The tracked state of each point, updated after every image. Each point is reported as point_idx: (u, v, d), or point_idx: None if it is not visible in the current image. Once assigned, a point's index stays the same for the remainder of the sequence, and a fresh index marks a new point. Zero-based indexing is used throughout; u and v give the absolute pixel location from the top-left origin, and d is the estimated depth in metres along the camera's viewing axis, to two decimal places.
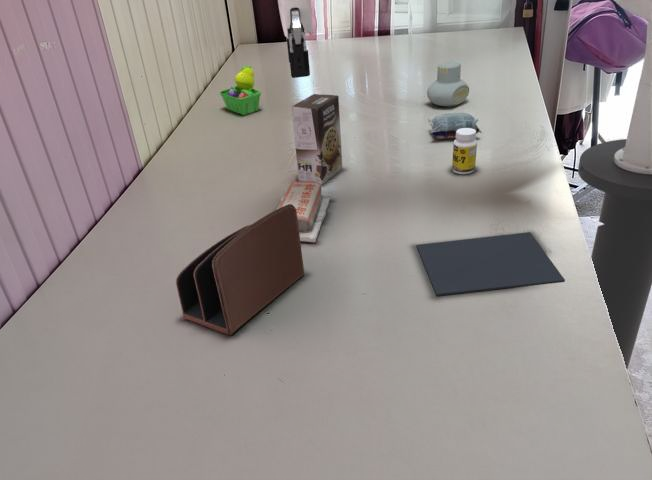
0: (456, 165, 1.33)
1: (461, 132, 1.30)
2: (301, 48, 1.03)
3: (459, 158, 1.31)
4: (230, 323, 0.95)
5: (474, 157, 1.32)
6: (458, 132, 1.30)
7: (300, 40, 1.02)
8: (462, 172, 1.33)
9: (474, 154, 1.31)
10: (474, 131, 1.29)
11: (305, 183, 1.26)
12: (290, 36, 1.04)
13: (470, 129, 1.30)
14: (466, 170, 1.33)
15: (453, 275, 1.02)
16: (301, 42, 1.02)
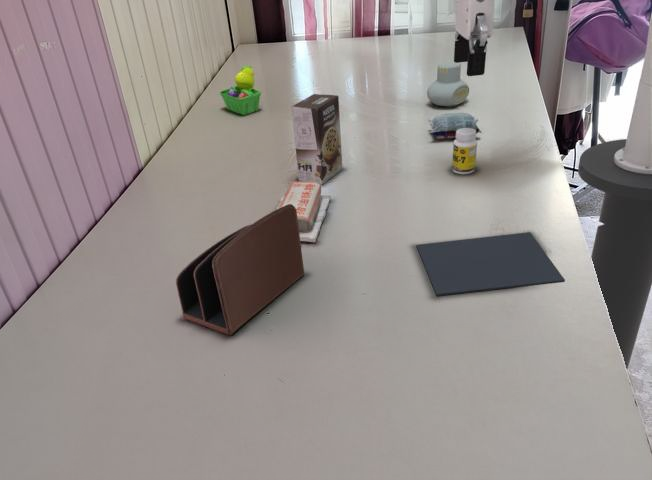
0: (456, 165, 1.33)
1: (461, 132, 1.30)
2: (482, 49, 1.14)
3: (459, 158, 1.31)
4: (230, 323, 0.95)
5: (474, 157, 1.32)
6: (458, 132, 1.30)
7: (484, 42, 1.13)
8: (462, 172, 1.33)
9: (474, 154, 1.31)
10: (474, 131, 1.29)
11: (305, 183, 1.26)
12: (472, 38, 1.15)
13: (470, 129, 1.30)
14: (466, 170, 1.33)
15: (453, 275, 1.02)
16: (485, 44, 1.13)
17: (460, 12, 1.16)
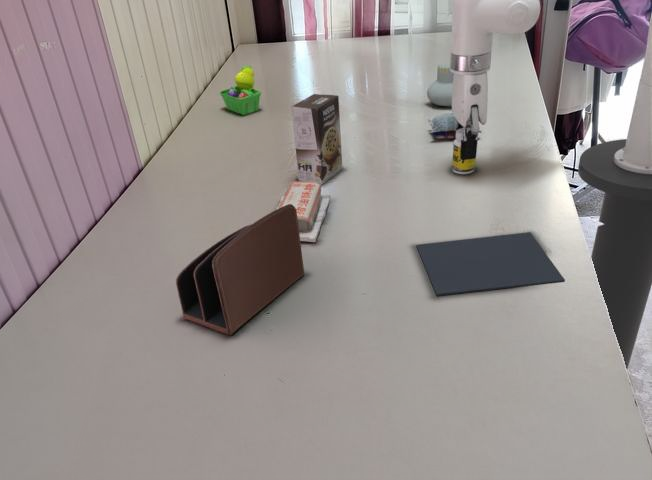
0: (456, 165, 1.33)
1: (461, 132, 1.30)
2: (474, 138, 1.26)
3: (459, 158, 1.31)
4: (230, 323, 0.95)
5: None
6: (458, 132, 1.30)
7: (475, 134, 1.25)
8: (462, 172, 1.33)
9: None
10: None
11: (305, 183, 1.26)
12: (465, 129, 1.26)
13: (470, 129, 1.30)
14: (466, 170, 1.33)
15: (453, 275, 1.02)
16: (476, 134, 1.25)
17: (456, 101, 1.25)
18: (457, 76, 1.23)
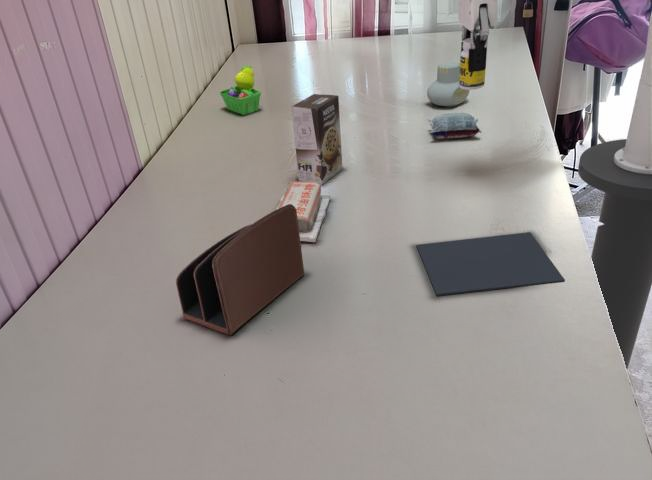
0: (463, 79, 1.21)
1: (469, 40, 1.18)
2: (483, 45, 1.15)
3: (467, 70, 1.20)
4: (230, 323, 0.95)
5: (483, 70, 1.20)
6: (465, 41, 1.18)
7: (485, 39, 1.13)
8: (470, 87, 1.21)
9: None
10: None
11: (305, 183, 1.26)
12: (473, 34, 1.14)
13: None
14: (475, 84, 1.21)
15: (453, 275, 1.02)
16: (485, 39, 1.13)
17: (463, 4, 1.14)
18: None
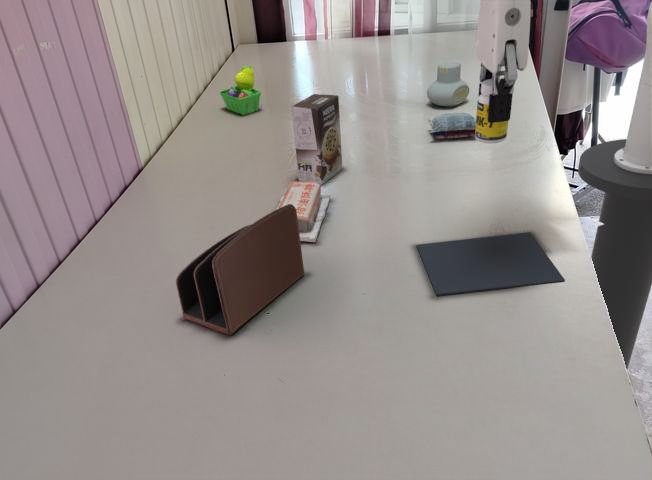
0: (481, 130, 0.96)
1: (489, 83, 0.93)
2: (508, 90, 0.90)
3: (485, 120, 0.95)
4: (230, 323, 0.95)
5: None
6: (485, 84, 0.93)
7: (511, 84, 0.88)
8: (489, 141, 0.96)
9: None
10: None
11: (305, 183, 1.26)
12: (496, 77, 0.89)
13: None
14: (495, 137, 0.96)
15: (453, 275, 1.02)
16: (511, 84, 0.88)
17: (484, 38, 0.89)
18: (486, 0, 0.86)
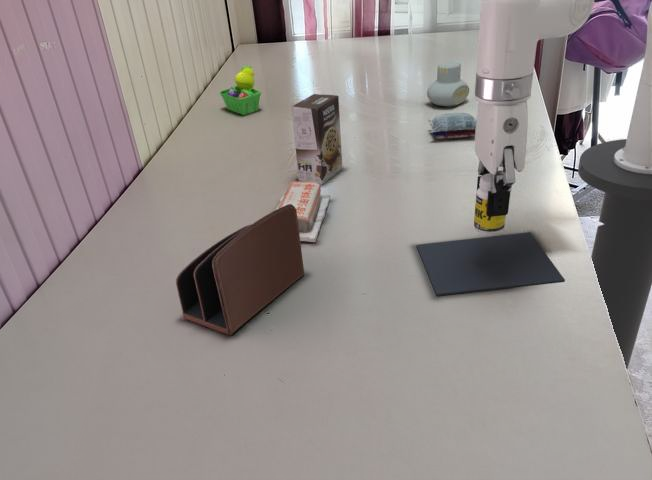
0: (480, 222, 0.99)
1: (487, 179, 0.96)
2: (506, 190, 0.93)
3: (484, 213, 0.98)
4: (230, 323, 0.95)
5: None
6: (483, 180, 0.96)
7: (509, 185, 0.91)
8: (488, 232, 0.99)
9: None
10: None
11: (304, 183, 1.26)
12: (495, 177, 0.92)
13: None
14: (494, 229, 0.99)
15: (453, 275, 1.02)
16: (510, 185, 0.91)
17: (483, 140, 0.92)
18: (484, 106, 0.89)
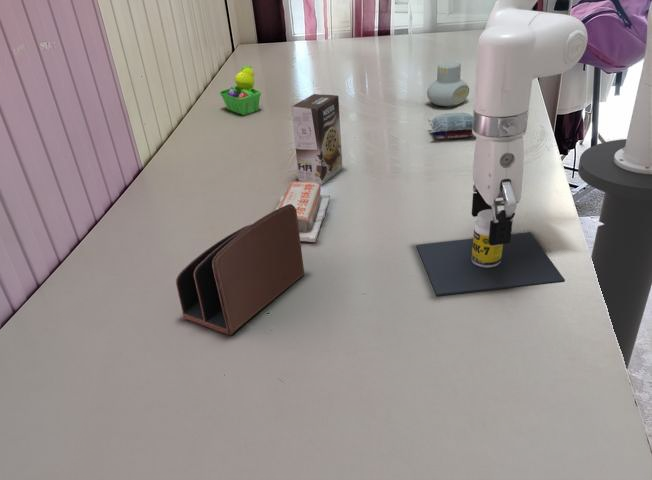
0: (477, 256, 1.03)
1: (484, 216, 1.00)
2: (508, 220, 0.93)
3: (481, 248, 1.01)
4: (230, 323, 0.95)
5: (501, 247, 1.02)
6: (480, 216, 1.00)
7: (511, 214, 0.91)
8: (485, 265, 1.03)
9: None
10: None
11: (304, 183, 1.26)
12: (495, 206, 0.94)
13: None
14: (491, 262, 1.02)
15: (453, 275, 1.02)
16: (512, 216, 0.92)
17: (480, 172, 0.95)
18: (482, 141, 0.92)
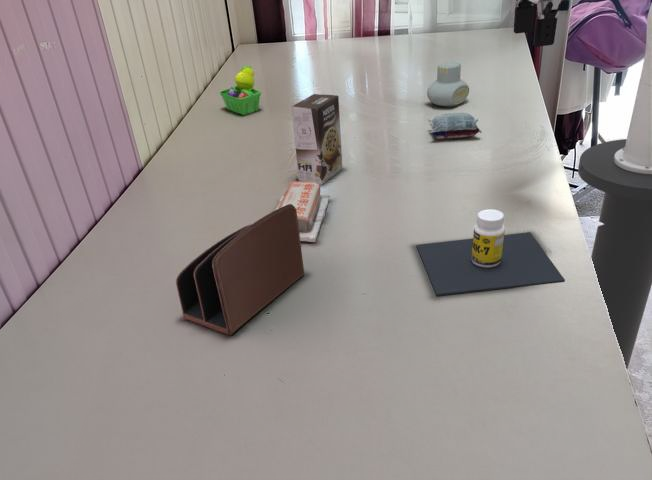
0: (477, 256, 1.03)
1: (484, 216, 1.00)
2: (554, 14, 0.98)
3: (481, 248, 1.01)
4: (230, 323, 0.95)
5: (501, 247, 1.02)
6: (480, 216, 1.00)
7: (558, 5, 0.96)
8: (485, 265, 1.03)
9: (501, 243, 1.01)
10: (501, 215, 0.99)
11: (304, 183, 1.26)
12: (541, 1, 0.98)
13: (496, 212, 1.00)
14: (491, 262, 1.02)
15: (453, 275, 1.02)
16: (558, 7, 0.96)
17: None
18: None
